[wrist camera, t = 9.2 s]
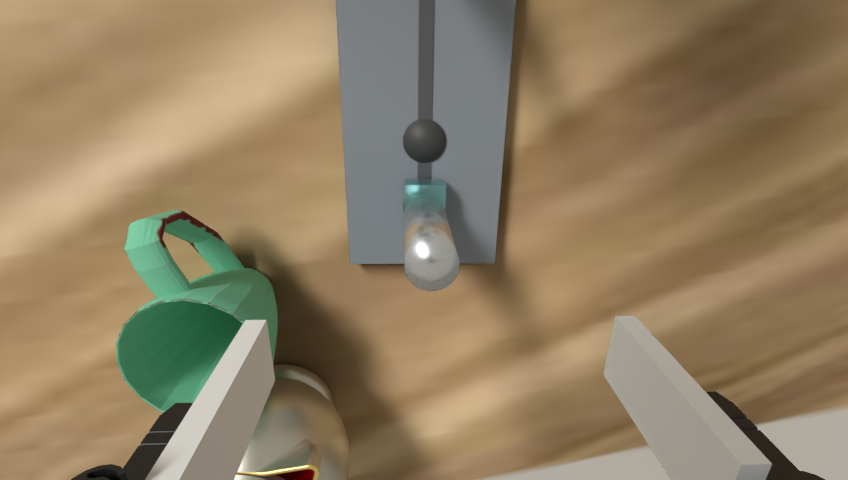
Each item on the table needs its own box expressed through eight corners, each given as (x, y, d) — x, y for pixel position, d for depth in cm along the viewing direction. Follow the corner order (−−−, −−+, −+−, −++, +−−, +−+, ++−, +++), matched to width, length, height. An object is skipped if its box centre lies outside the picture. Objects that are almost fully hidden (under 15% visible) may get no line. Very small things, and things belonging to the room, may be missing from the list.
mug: (318, 325, 39) (291, 404, 30) (217, 350, 40) (159, 435, 30) (255, 171, 34) (198, 209, 25) (138, 202, 34) (40, 251, 25)
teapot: (286, 307, 38) (207, 462, 23) (392, 394, 42) (384, 576, 27) (163, 417, 42) (27, 612, 27) (271, 487, 46) (205, 691, 31)
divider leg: (404, 179, 33) (404, 228, 22) (444, 179, 33) (461, 227, 23) (404, 233, 34) (404, 302, 24) (442, 233, 34) (457, 301, 24)
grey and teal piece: (332, -124, 27) (278, -268, 16) (520, -117, 28) (603, -252, 16) (352, 256, 37) (327, 342, 25) (491, 256, 37) (530, 340, 26)
